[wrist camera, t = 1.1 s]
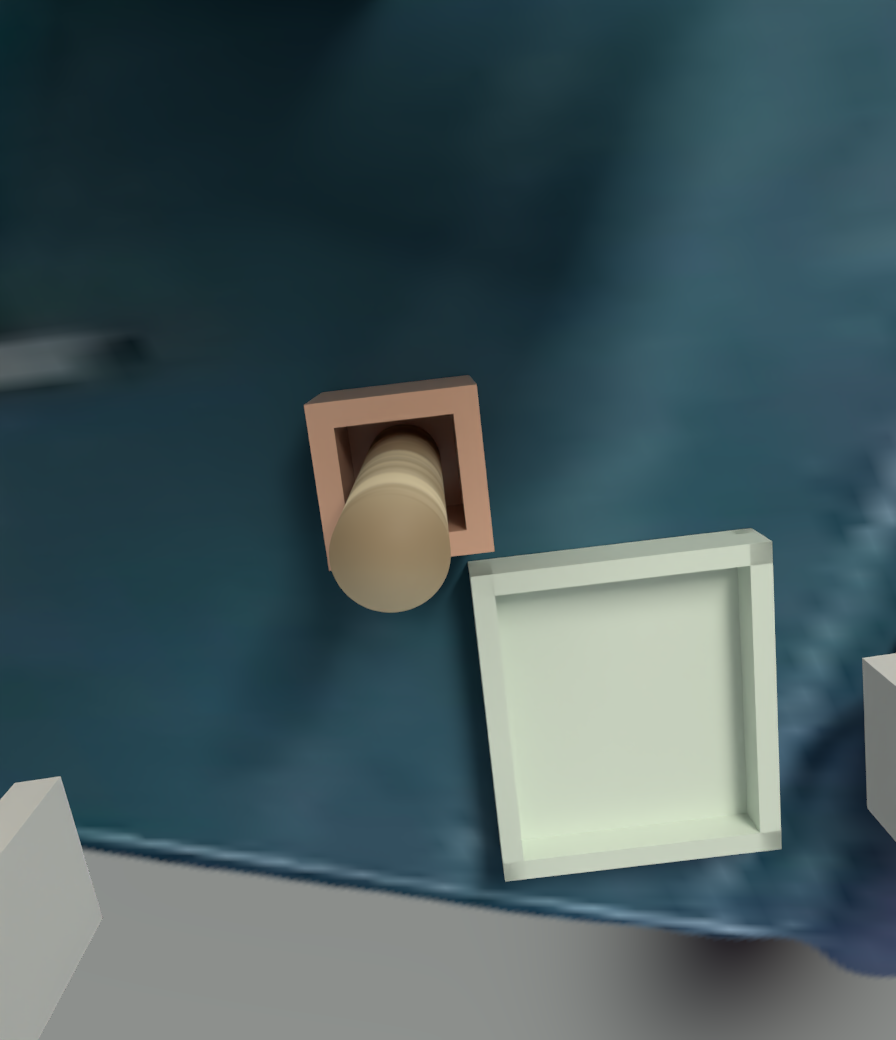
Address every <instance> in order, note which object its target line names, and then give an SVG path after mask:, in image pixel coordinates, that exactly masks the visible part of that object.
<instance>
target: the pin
mask: <svg viewBox="0 0 896 1040" xmlns="http://www.w3.org/2000/svg"><path fill="white" fill-rule="evenodd" d="M329 560H330V566H331V570H332V573H333V575H334V578H335V579H336V581H337V583H338V585H339V586H340V588H341V589H342V590H343V591H344V592H345V593H346V595H347V596H349V597H350V598H351V599H352V600H353V601H355V602H356V603H358V604H360V605H362V606H364V607H366V608H368V609H371V610H374V611H379V612H389V613H392V612H401V611H406V610H410V609H413V608H415V607H417V606H419V605H421V604H423V603H424V602H426V601H427V600H429V599H430V598H431V597H432V596H433V595H434V594H435V593H436V592H437V591H438V590H439V588H440V587H441V585H442V584H443V582H444V580H445V578H446V576H447V573H448V571H449V566H450V560H451V547H450V538H449V530H448V521H447V512H446V503H445V494H444V486H443V477H442V468H441V459H440V452H439V449H438V446H437V444H436V442H435V440H434V439H433V437H432V436H431V435H430V434H429V433H428V432H427V431H425V430H424V429H422V428H420V427H418V426H415V425H411V424H397V425H393V426H390V427H388V428H386V429H384V430H383V431H382V432H380V433H379V434H378V435H377V437H376V438H375V439H374V441H373V442H372V444H371V447H370V449H369V451H368V453H367V456H366V458H365V460H364V463H363V465H362V467H361V469H360V472H359V474H358V476H357V479H356V481H355V483H354V485H353V488H352V490H351V492H350V495H349V497H348V499H347V502H346V504H345V506H344V508H343V511H342V513H341V515H340V518H339V520H338V522H337V524H336V527H335V529H334V531H333V534H332V537H331V541H330V546H329Z"/></svg>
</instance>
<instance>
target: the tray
mask: <svg viewBox="0 0 896 1040" xmlns="http://www.w3.org/2000/svg"><path fill="white" fill-rule="evenodd" d="M468 569H469V578H470V586H471V595H472V604H473V613H474V621H475V630H476V639H477V648H478V656H479V665H480V674H481V683H482V691H483V700H484V709H485V718H486V726H487V735H488V744H489V753H490V761H491V770H492V779H493V788H494V796H495V805H496V814H497V823H498V831H499V840H500V849H501V856H502V863H503V870H504V877H505V882H506V881H515V880H523V879H531V878H540V877H548V876H557V875H565V874H574V873H582V872H591V871H599V870H608V869H616V868H625V867H633V866H642V865H650V864H659V863H667V862H676V861H684V860H693V859H701V858H710V857H718V856H726V855H735V854H743V853H752V852H760V851H769V850H777V849H782V848H781V815H780V782H779V749H778V717H777V684H776V651H775V618H774V586H773V553H772V541H771V540H769V539H768V538H766V537H764V536H763V535H761V534H760V533H758V532H757V531H755V530H753V529H752V528H748V529H740V530H731V531H723V532H714V533H706V534H697V535H689V536H680V537H672V538H663V539H655V540H647V541H638V542H630V543H621V544H613V545H604V546H596V547H587V548H579V549H570V550H562V551H553V552H545V553H537V554H528V555H520V556H511V557H503V558H494V559H486V560H477V561H469V562H468Z"/></svg>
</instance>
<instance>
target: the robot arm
mask: <svg viewBox="0 0 896 1040" xmlns="http://www.w3.org/2000/svg"><path fill="white" fill-rule="evenodd" d="M862 661H863V692H864V723H865V755H866V786H867V808H868V810H869V811H870V812H871V813H872V814H873V816H874V817H875V818H876V819H877V820H878V821H879V823H880V824H881V825H882V826H883V827H884V828H885V830H886V831H887V832H888V833H889V834H890V835H891V837H892V838H893V839H894V840H895V841H896V653H894V654H887V655H881V656H874V657H867V658H862ZM102 919H103V917H102V914H101V910H100V907H99V904H98V900H97V897H96V894H95V890H94V887H93V883H92V880H91V877H90V873H89V870H88V867H87V863H86V860H85V857H84V853H83V850H82V847H81V843H80V840H79V837H78V833H77V830H76V826H75V823H74V820H73V816H72V813H71V810H70V806H69V803H68V800H67V796H66V793H65V790H64V786H63V783H62V780H61V776H59V777H52V778H45V779H39V780H32V781H25V782H18V783H14V784H13V786H12V787H11V788H10V789H9V790H8V791H7V793H6V794H5V795H4V796H3V797H2V798H1V800H0V1040H39V1038H40V1036H41V1034H42V1032H43V1030H44V1028H45V1027H46V1025H47V1023H48V1021H49V1019H50V1017H51V1015H52V1013H53V1012H54V1009H55V1008H56V1006H57V1004H58V1002H59V1000H60V998H61V996H62V995H63V992H64V991H65V989H66V987H67V985H68V983H69V981H70V979H71V977H72V976H73V974H74V972H75V969H76V968H77V966H78V964H79V962H80V960H81V959H82V957H83V955H84V953H85V951H86V949H87V947H88V945H89V943H90V942H91V940H92V938H93V936H94V934H95V932H96V930H97V928H98V926H99V924H100V922H101V921H102Z"/></svg>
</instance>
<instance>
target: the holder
mask: <svg viewBox="0 0 896 1040" xmlns="http://www.w3.org/2000/svg"><path fill="white" fill-rule="evenodd" d="M304 410H305V416H306V423H307V429H308V436H309V443H310V449H311V456H312V462H313V469H314V475H315V482H316V488H317V495H318V502H319V508H320V515H321V521H322V528H323V534H324V541H325V547H326V554H327V560H328V567H329V571H332V570H331V566H330V560H329V546H330V541H331V537H332V534H333V531H334V529H335V527H336V524H337V522H338V520H339V518H340V515H341V513H342V511H343V508H344V506H345V504H346V502H347V499H348V497H349V495H350V492H351V490H352V488H353V485H354V483H355V481H356V479H357V476H358V474H359V472H360V469H361V467H362V465H363V463H364V460H365V458H366V456H367V453H368V451H369V449H370V447H371V444H372V442H373V441H374V439H375V438H376V437H377V435H378V434H379V433H380V432H382V431H383V430H384V429H386V428H388V427H390V426H393V425H397V424H411V425H415V426H418V427H420V428H422V429H424V430H425V431H427V432H428V433H429V434H430V435H431V436H432V437H433V439H434V440H435V442H436V444H437V446H438V449H439V452H440V459H441V468H442V477H443V486H444V494H445V503H446V512H447V521H448V530H449V538H450V547H451V557H452V556H461V555H469V554H478V553H486V552H494V542H493V532H492V523H491V514H490V504H489V495H488V486H487V476H486V467H485V457H484V448H483V439H482V429H481V420H480V411H479V401H478V392H477V384H476V383H475V382H474V381H473V379H472V378H471V377H470V376H469V375H464V376H456V377H447V378H439V379H430V380H422V381H413V382H405V383H396V384H388V385H380V386H371V387H363V388H354V389H346V390H337V391H329V392H322V393H320V394H319V395H317V396H316V397H315V398H313V399H312V400H310V401H309V402H307V403H306V404H304Z"/></svg>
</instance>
